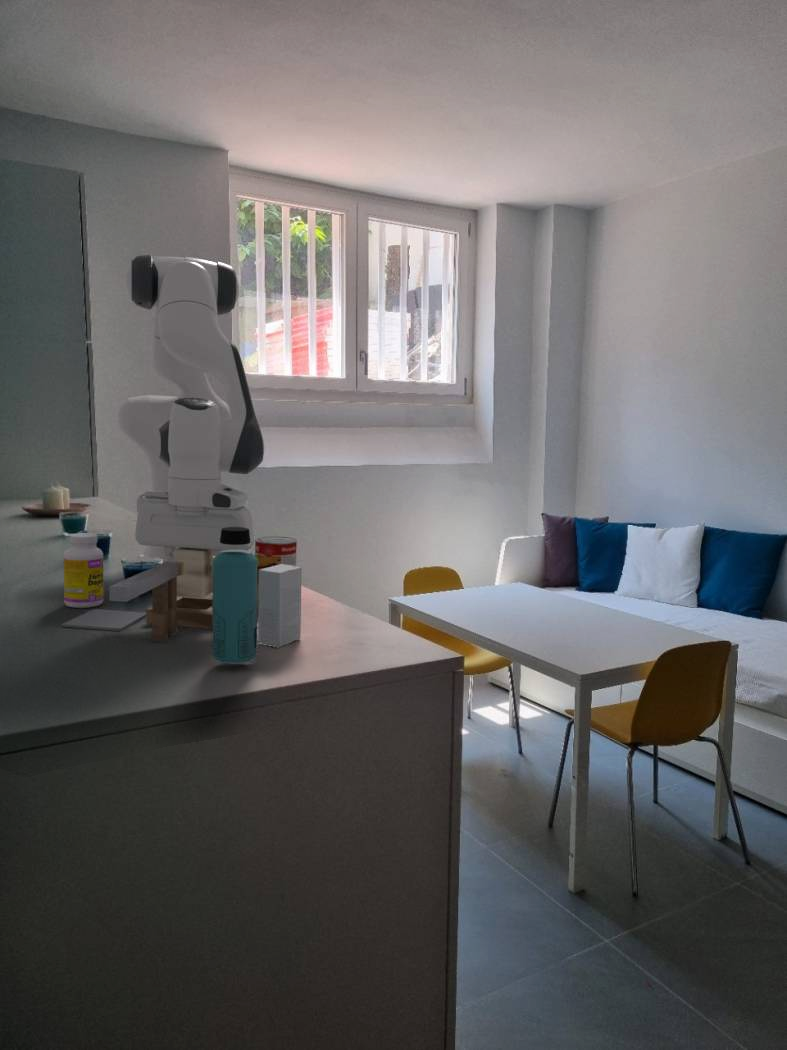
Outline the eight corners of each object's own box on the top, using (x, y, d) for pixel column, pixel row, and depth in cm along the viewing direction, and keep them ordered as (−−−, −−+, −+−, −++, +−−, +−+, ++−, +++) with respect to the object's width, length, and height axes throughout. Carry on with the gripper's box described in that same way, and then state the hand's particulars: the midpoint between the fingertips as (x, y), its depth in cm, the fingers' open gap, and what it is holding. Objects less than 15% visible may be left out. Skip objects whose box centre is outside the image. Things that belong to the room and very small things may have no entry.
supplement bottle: (89, 610, 131) (88, 538, 129) (56, 607, 132) (54, 536, 131) (111, 601, 138) (110, 533, 136) (79, 598, 139) (78, 531, 137)
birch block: (185, 589, 132) (186, 545, 131) (212, 591, 131) (213, 547, 130) (174, 595, 127) (174, 550, 126) (202, 598, 127) (202, 552, 125)
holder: (175, 606, 136) (175, 557, 135) (238, 611, 135) (239, 561, 134) (120, 639, 115) (120, 581, 114) (194, 644, 114) (194, 586, 113)
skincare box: (279, 635, 121) (281, 563, 120) (301, 639, 119) (303, 566, 118) (256, 644, 116) (257, 569, 114) (278, 648, 114) (280, 572, 112)
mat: (93, 611, 131) (93, 609, 130) (147, 615, 129) (147, 613, 129) (62, 626, 121) (62, 624, 121) (120, 631, 120) (120, 628, 120)
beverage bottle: (261, 672, 103) (264, 530, 101) (212, 675, 101) (214, 531, 98) (253, 657, 109) (256, 523, 107) (207, 660, 107) (209, 524, 104)
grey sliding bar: (165, 573, 120) (165, 561, 120) (183, 574, 120) (183, 562, 119) (107, 600, 101) (107, 586, 101) (128, 601, 101) (128, 587, 101)
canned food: (266, 593, 149) (268, 535, 148) (301, 598, 147) (303, 538, 145) (246, 602, 142) (247, 540, 140) (283, 607, 139) (284, 544, 138)
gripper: (128, 492, 125) (128, 572, 127) (246, 499, 123) (244, 581, 125) (145, 488, 131) (145, 565, 133) (257, 495, 129) (255, 573, 131)
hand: (194, 573), depth 129 cm, fingers closed on birch block, 5 cm apart
